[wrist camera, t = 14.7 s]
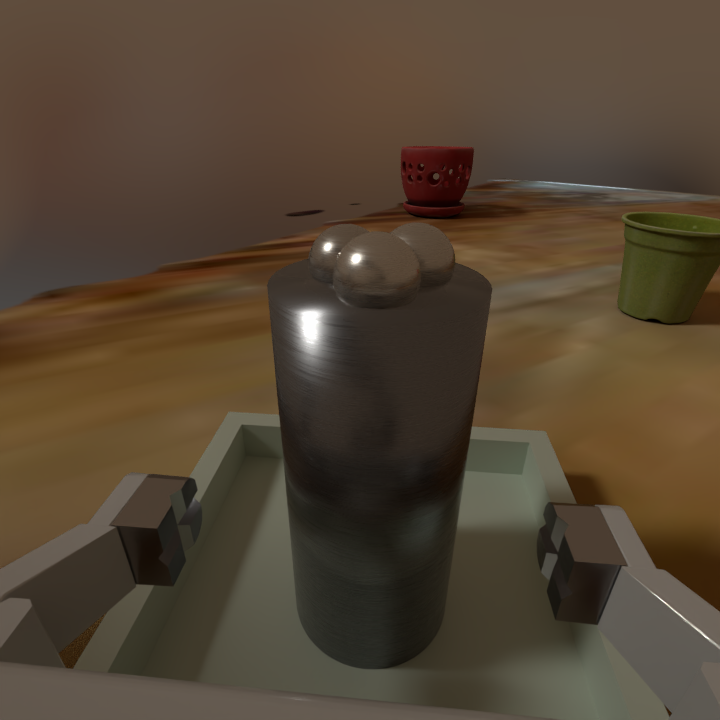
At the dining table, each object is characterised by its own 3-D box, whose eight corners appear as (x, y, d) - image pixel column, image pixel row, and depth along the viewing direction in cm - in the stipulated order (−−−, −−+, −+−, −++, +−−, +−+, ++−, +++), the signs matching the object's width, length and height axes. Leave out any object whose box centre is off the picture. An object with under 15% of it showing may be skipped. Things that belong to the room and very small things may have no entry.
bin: (19, 884, 11) (-29, 835, 10) (235, 457, 25) (229, 411, 24) (711, 988, 10) (769, 948, 9) (534, 477, 24) (545, 431, 23)
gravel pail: (279, 660, 15) (226, 249, 9) (311, 527, 20) (292, 201, 14) (451, 678, 15) (525, 258, 8) (440, 537, 19) (482, 205, 13)
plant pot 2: (644, 291, 50) (670, 208, 46) (734, 324, 42) (774, 228, 38) (578, 302, 47) (599, 214, 43) (661, 339, 39) (696, 236, 35)
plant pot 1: (480, 215, 88) (489, 146, 83) (432, 223, 81) (438, 148, 76) (431, 205, 97) (436, 142, 92) (384, 212, 90) (386, 144, 85)
